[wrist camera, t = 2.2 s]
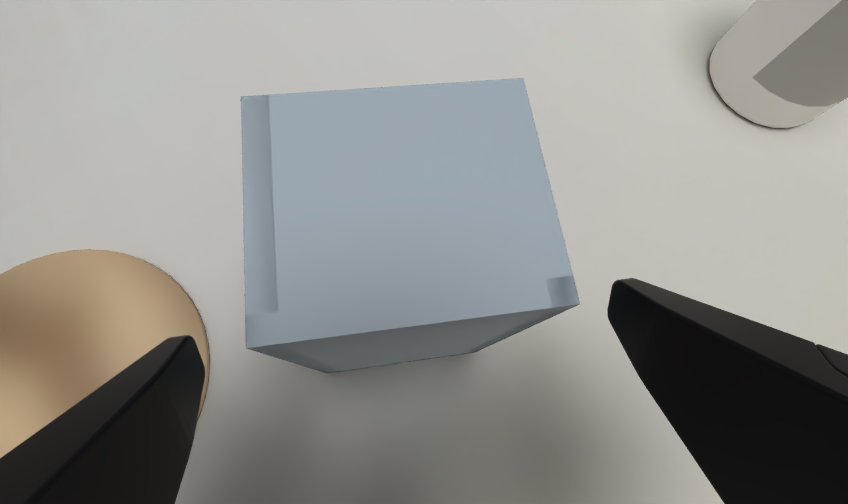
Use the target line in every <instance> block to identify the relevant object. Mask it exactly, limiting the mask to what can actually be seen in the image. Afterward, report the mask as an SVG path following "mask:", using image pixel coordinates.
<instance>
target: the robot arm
mask: <svg viewBox="0 0 848 504" xmlns="http://www.w3.org/2000/svg"><path fill="white" fill-rule="evenodd" d="M608 318H609V321H610V323H611V325H612V327H613V329H614V331H615V333H616V335H617V336H618V338H619V340H620V342H621V344H622V346H623V348H624V350H625V351H626V353H627V355H628V357H629V359H630V361H631V363H632V365H633V367H634V368H635V370H636V372H637V374H638V375H639V377H640V379H641V380H642V382H643V383H644V385H645V386H646V388H647V389H648V391H649V392H650V394H651V395H652V397H653V398H654V400H655V401H656V403H657V404H658V406H659V407H660V409H661V410H662V412H663V413H664V415H665V416H666V418H667V419H668V421H669V422H670V424H671V425H672V427H673V428H674V429H675V431H676V432H677V434H678V435H679V437H680V438H681V440H682V441H683V443H684V444H685V446H686V447H687V449H688V450H689V452H690V453H691V455H692V456H693V458H694V459H695V461H696V462H697V464H698V465H699V467H700V468H701V470H702V471H703V472H704V474H705V475H706V477H707V478H708V480H709V481H710V483H711V484H712V486H713V487H714V489H715V490H716V492H717V493H718V495H719V496H720V498H721V499H722V501H723V502H724V504H848V355H847V354H845V353H842V352H839V351H836V350H833V349H831V348H828V347H825V346H822V345H819V344H817V345H815V344H814V343H813V342H811V341H808V340H805V339H802V338H800V337H797V336H794V335H791V334H788V333H786V332H783V331H780V330H777V329H774V328H772V327H769V326H766V325H763V324H760V323H758V322H755V321H752V320H749V319H746V318H744V317H741V316H738V315H735V314H732V313H730V312H727V311H724V310H721V309H719V308H716V307H713V306H710V305H707V304H705V303H702V302H699V301H696V300H693V299H691V298H688V297H685V296H682V295H679V294H677V293H674V292H671V291H668V290H665V289H663V288H660V287H657V286H654V285H651V284H649V283H646V282H643V281H640V280H637V279H634V278H629V279H621V280H616V281H615V282H614V283H613V285H612V289H611V295H610V300H609V305H608ZM204 381H205V366H204V363H203V361H202V358H201V355H200V353H199V350H198V347H197V344H196V342H195V340H194V338H193V337H192V336H190V335H183V336H175V337H169V338H167V339H166V340H164V341H163V342H161V343H160V344H159V345H157V346H156V347H154V348H153V349H152V350H150V351H149V352H148V353H146V354H145V355H143V356H142V357H141V358H139V359H138V360H136V361H135V362H134V363H132V364H131V365H129V366H128V367H127V368H125V369H124V370H122V371H121V372H120V373H118V374H117V375H115V376H114V377H113V378H111V379H110V380H108V381H107V382H106V383H104V384H103V385H102V386H100V387H99V388H97V389H96V390H95V391H93V392H92V393H90V394H89V395H88V396H86V397H85V398H83V399H82V400H81V401H79V402H78V403H76V404H75V405H74V406H72V407H71V408H69V409H68V410H67V411H65V412H64V413H62V414H61V415H60V416H58V417H57V418H56V419H54V420H53V421H51V422H50V423H49V424H47V425H46V426H44V427H43V428H42V429H40V430H39V431H37V432H36V433H35V434H33V435H32V436H30V437H29V438H28V439H26V440H25V441H23V442H22V443H21V444H19V445H18V446H16V447H15V448H14V449H12V450H11V451H10V452H8V453H7V454H5V455H4V456H3V457H1V458H0V504H175V500H176V497H177V494H178V491H179V488H180V484H181V481H182V478H183V475H184V472H185V468H186V465H187V462H188V459H189V455H190V451H191V448H192V443H193V439H194V434H195V429H196V423H197V418H198V413H199V407H200V402H201V397H202V391H203V386H204Z"/></svg>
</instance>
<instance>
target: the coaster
mask: <svg viewBox="0 0 848 504" xmlns="http://www.w3.org/2000/svg"><path fill="white" fill-rule="evenodd" d="M183 335H190V336H192V337H193V338H194V340H195V342H196V344H197V347H198V350H199V353H200V355H201V358H202V361H203V363H204V366H205V381H204V386H203V391H202V397H201V402H200V407H199V413H198V417H199V415H200V412H201V409H202V406H203V402H204V399H205V396H206V390H207V385H208V379H209V363H210V358H209V346H208V340H207V336H206V331H205V327H204V324H203V322H202V319H201V317H200V314H199V312H198V310H197V308H196V307H195V305H194V303H193V301H192V300H191V298H190V297H189V296H188V294H187V293H186V292H185V291H184V289H183V288H182V287H181V286H180V285H179V284H178V283H177V282H176V281H175V280H173V279H172V278H171V277H170V276H169V275H167V274H166V273H164V272H163V271H161V270H160V269H158V268H157V267H155V266H153V265H151V264H149V263H147V262H145V261H143V260H141V259H139V258H135V257H132V256H129V255H126V254H123V253H118V252H112V251H107V250H90V249H89V250H72V251H66V252H60V253H54V254H50V255H47V256H43V257H40V258H36V259H33V260H31V261H28V262H26V263H23V264H21V265H18V266H16V267H14V268H12V269H10V270H8V271H6V272H4V273H2V274H0V458H1V457H3V456H4V455H5V454H7V453H8V452H10V451H11V450H12V449H14V448H15V447H16V446H18V445H19V444H21V443H22V442H23V441H25V440H26V439H28V438H29V437H30V436H32V435H33V434H35V433H36V432H37V431H39V430H40V429H42V428H43V427H44V426H46V425H47V424H49V423H50V422H51V421H53V420H54V419H56V418H57V417H58V416H60V415H61V414H62V413H64V412H65V411H67V410H68V409H69V408H71V407H72V406H74V405H75V404H76V403H78V402H79V401H81V400H82V399H83V398H85V397H86V396H88V395H89V394H90V393H92V392H93V391H95V390H96V389H97V388H99V387H100V386H102V385H103V384H104V383H106V382H107V381H108V380H110V379H111V378H113V377H114V376H115V375H117V374H118V373H120V372H121V371H122V370H124V369H125V368H127V367H128V366H129V365H131V364H132V363H134V362H135V361H136V360H138V359H139V358H141V357H142V356H143V355H145V354H146V353H148V352H149V351H150V350H152V349H153V348H154V347H156V346H157V345H159V344H160V343H161V342H163V341H164V340H166V339H167V338H169V337H175V336H183ZM197 420H198V418H197Z"/></svg>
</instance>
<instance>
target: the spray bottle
mask: <svg viewBox="0 0 848 504" xmlns="http://www.w3.org/2000/svg"><path fill="white" fill-rule="evenodd" d="M710 75H711V78H712V81H713V85H714V87H715V89H716V90H717V92H718V93H719V95H720V96H721V98H722V99H723V100H724V102H725V103H726V104H728V105H729V106H730V107H731V108H732V109H733V110H734V111H736V112H737V113H738V114H739V115H741V116H743V117H745V118H747V119H749V120H750V121H752V122H754V123H756V124H760V125H764V126H768V127H772V128H791V127H796V126H798V125H801V124H804V123H806V122H809V121H811V120H813V119H814V118H816V117H818V116H819V115H821V114H822V113H824V112H825V111H827V110H828V109H830V108H832V107H833V106H835V105H836V104H838V103H839V102H841V101H843V100H844V99H846V98H847V97H848V0H757V1H756V2H755V3H754V4H753V5H752V6H751V7H750V8H749V9H748V10H747V11H746V12H745V13H744V14H743V16H742V17H741V18H740V19H739V20H738V21H737V22H736V23H735V24H734V25H733V26H732V27H731V28H730V29H729V30H728V31H727V33H726V34H725V35H724V36H723V37H722V38H721V39H720V40H719V41H718V42H717V44H716V46H715V48H714V50H713V52H712V54H711V57H710Z"/></svg>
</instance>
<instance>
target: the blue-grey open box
mask: <svg viewBox="0 0 848 504" xmlns="http://www.w3.org/2000/svg"><path fill="white" fill-rule="evenodd" d="M241 124H242V174H243V224H244V274H245V324H246V348H247V349H250V350H253V351H257V352H260V353H263V354H266V355H270V356H273V357H276V358H279V359H283V360H286V361H289V362H292V363H295V364H299V365H302V366H305V367H308V368H312V369H315V370H318V371H321V372H325V373H331V372H338V371H345V370H352V369H359V368H366V367H373V366H380V365H387V364H394V363H401V362H408V361H415V360H422V359H430V358H437V357H444V356H451V355H458V354H465V353H472V352H477V351H479V350H481V349H483V348H485V347H487V346H490V345H492V344H494V343H496V342H498V341H501V340H503V339H505V338H507V337H509V336H511V335H514V334H516V333H518V332H520V331H522V330H525V329H527V328H529V327H531V326H533V325H535V324H538V323H540V322H542V321H544V320H546V319H549V318H551V317H553V316H555V315H557V314H560V313H562V312H564V311H566V310H568V309H570V308H573V307H575V306H577V305H579V304H580V301H579V297H578V293H577V289H576V285H575V281H574V277H573V273H572V269H571V265H570V261H569V257H568V253H567V249H566V245H565V242H564V238H563V234H562V230H561V226H560V222H559V218H558V214H557V210H556V206H555V202H554V198H553V194H552V190H551V186H550V182H549V178H548V174H547V170H546V166H545V162H544V158H543V154H542V150H541V146H540V142H539V138H538V134H537V131H536V127H535V123H534V119H533V115H532V111H531V107H530V103H529V99H528V95H527V91H526V87H525V83H524V79H523V78H517V79H501V80H486V81H471V82H456V83H441V84H425V85H410V86H395V87H380V88H365V89H349V90H334V91H319V92H304V93H289V94H274V95H258V96H243V97H241Z"/></svg>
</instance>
